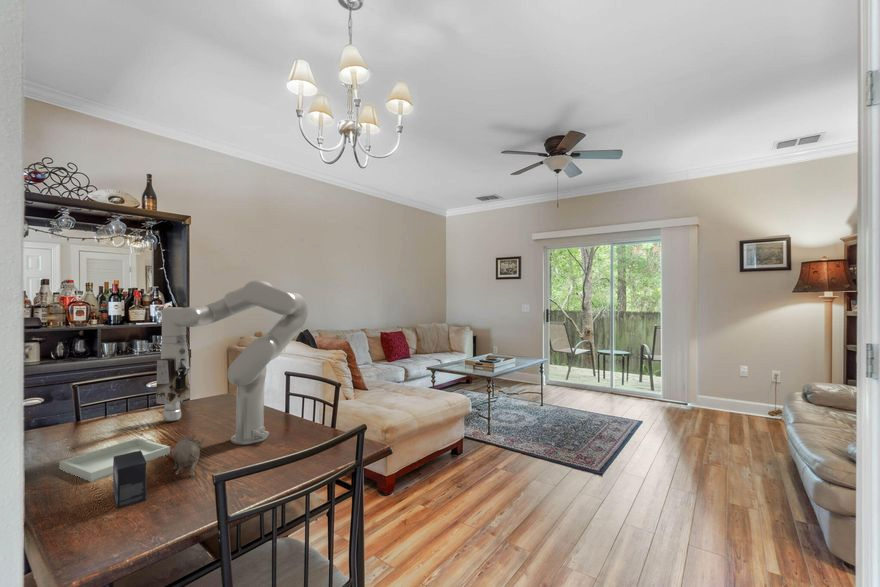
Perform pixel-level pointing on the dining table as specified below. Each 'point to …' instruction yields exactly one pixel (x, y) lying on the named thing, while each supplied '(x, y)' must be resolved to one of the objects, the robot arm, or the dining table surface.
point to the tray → (110, 458)
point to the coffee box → (170, 383)
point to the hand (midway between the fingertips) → (173, 387)
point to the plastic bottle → (172, 412)
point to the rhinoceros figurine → (186, 454)
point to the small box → (129, 478)
